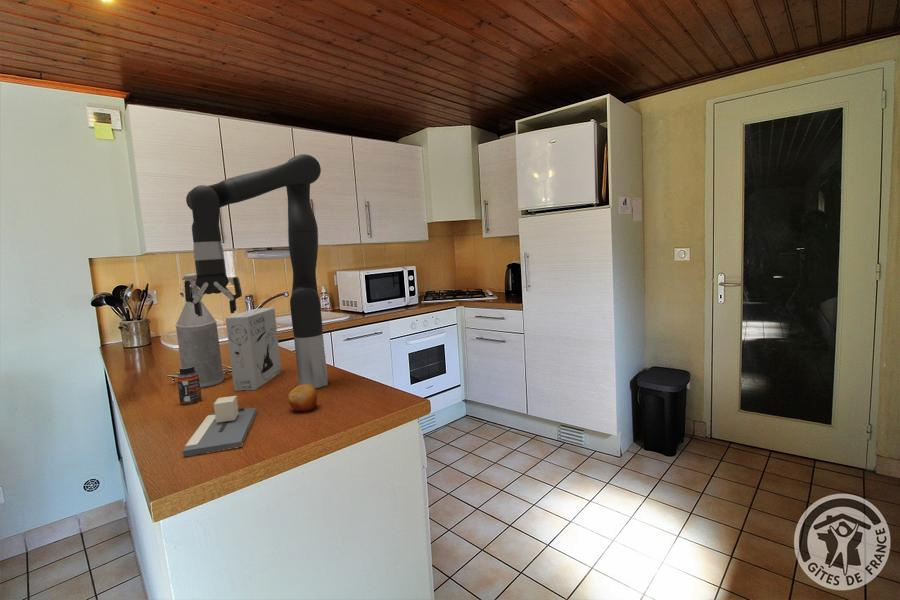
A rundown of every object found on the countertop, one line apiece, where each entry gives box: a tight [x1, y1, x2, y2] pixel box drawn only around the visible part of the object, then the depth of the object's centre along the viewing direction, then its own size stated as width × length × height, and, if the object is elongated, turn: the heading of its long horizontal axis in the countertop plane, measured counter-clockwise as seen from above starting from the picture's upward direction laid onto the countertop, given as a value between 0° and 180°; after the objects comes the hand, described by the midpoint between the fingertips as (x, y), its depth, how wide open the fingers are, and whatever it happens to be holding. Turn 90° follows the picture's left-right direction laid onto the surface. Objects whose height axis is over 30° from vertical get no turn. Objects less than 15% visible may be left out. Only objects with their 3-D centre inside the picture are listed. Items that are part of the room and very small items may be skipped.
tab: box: [213, 395, 239, 423], centre depth 116 cm, size 4×5×5 cm
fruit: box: [287, 384, 318, 412], centre depth 126 cm, size 8×8×8 cm
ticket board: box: [182, 406, 258, 458], centre depth 112 cm, size 12×24×2 cm, turn 16°
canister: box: [175, 272, 225, 389], centre depth 158 cm, size 13×17×40 cm
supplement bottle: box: [176, 366, 202, 405], centre depth 138 cm, size 6×6×11 cm
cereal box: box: [225, 307, 282, 392], centre depth 156 cm, size 22×8×25 cm, turn 179°
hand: (216, 314), depth 127 cm, fingers open, 8 cm apart
